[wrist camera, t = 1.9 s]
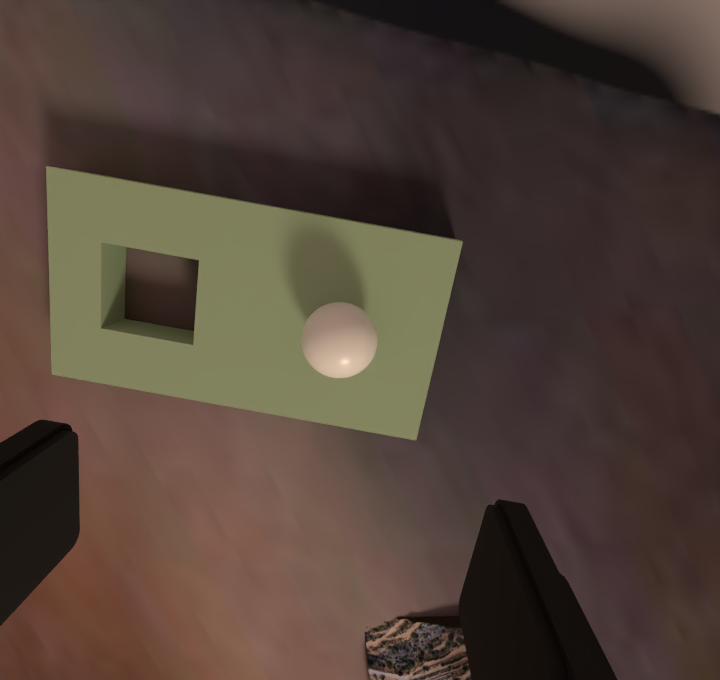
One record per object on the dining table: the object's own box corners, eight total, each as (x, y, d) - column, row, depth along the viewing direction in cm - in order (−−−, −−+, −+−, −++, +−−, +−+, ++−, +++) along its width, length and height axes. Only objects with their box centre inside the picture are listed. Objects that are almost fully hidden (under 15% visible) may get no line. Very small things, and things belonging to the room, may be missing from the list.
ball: (383, 302, 24) (384, 319, 21) (371, 369, 26) (369, 396, 22) (313, 289, 24) (300, 303, 21) (303, 356, 26) (289, 382, 22)
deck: (455, 238, 26) (462, 241, 23) (413, 421, 29) (416, 440, 27) (77, 170, 26) (46, 166, 23) (79, 361, 29) (51, 374, 27)
